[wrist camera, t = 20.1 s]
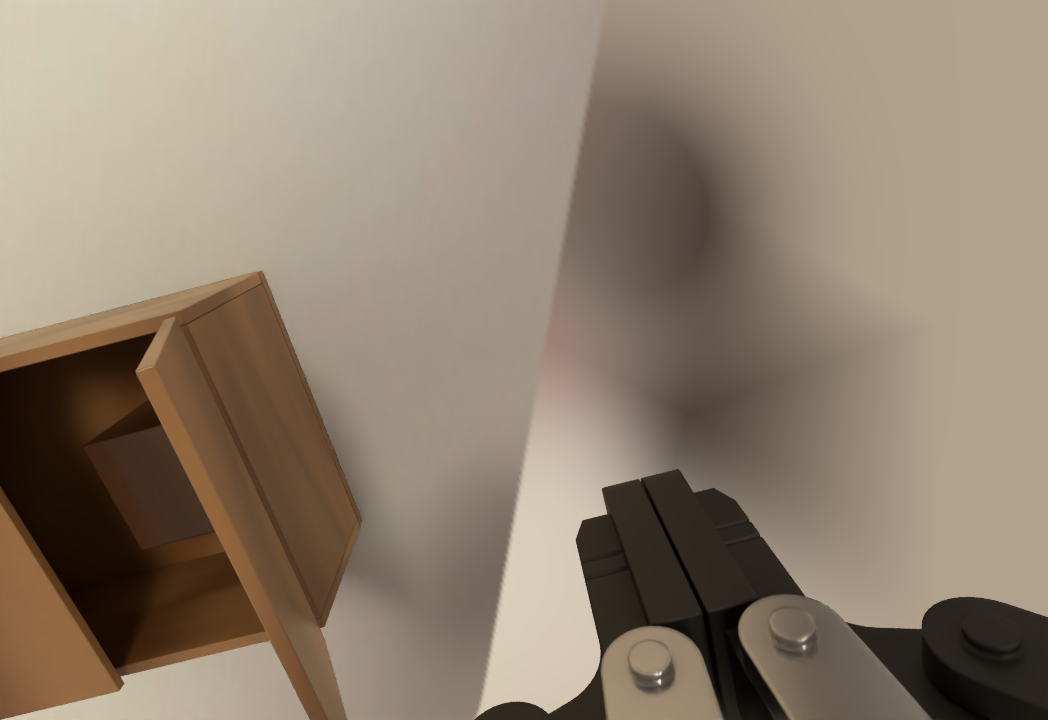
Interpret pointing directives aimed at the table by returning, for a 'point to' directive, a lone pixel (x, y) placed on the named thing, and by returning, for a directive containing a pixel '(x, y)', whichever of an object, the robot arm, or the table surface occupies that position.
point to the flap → (238, 516)
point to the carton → (96, 523)
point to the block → (147, 480)
